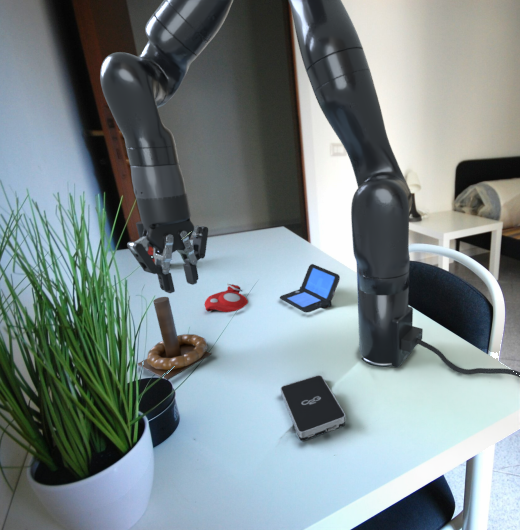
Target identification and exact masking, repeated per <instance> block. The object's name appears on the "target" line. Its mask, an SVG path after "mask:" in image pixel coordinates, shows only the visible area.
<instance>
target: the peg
mask: <svg viewBox="0 0 520 530" xmlns="http://www.w3.org/2000/svg"><path fill="white" fill-rule="evenodd" d="M153 306H154V310H155V313H156V319H157V323H158V327H159V331H160V334H161V338H162V339H161V340H162V341H163V343H164V347H165V352H163V353H162V354H161V355H160V357H162V358H174V357H178V356H182V355H184V354H186V353H188V352H190V351H192V350H193V349H194V348H195V347H196V346H194V345H181V346H180V345H179V341H178V337H177V336H178V333H177V328H176V324H175V320H174V315H173V311H172V306H171V301H170V297H168V296H161V297H160V296H159V297H157V298H155V299H153ZM211 355H212V352H209V351H208V350H207V351H206V352H205V353H204V354H203V356H202V357H201V358H200V359H199V360H197V361H195V362H193V363H191V364H189V365H188V366H184V367H181V368H177V369H173V370H171V371H170V372H169V373H168V374H166V375H165V376H164V379H168V380H169V379H172V378H173V377H175V376H176V375H179V374H180V373H182V372H184V371H185V370H187V369H189V368H190V367H192V366H194V365H196V364H197V363H199V362H201V361H202V360H205V359H206V358H208V357H209V356H211ZM143 361H144V365H143V368H142V362H143ZM137 364H138V365H137V366H138V367H140V368H142V369H144V370H145V371H147V372H150V373H152V374H153V375H155V376H157V377H159V378H161V377H162V375H163V374H164V373H166V372H167V371H168V370H160V369H156V368H154V367H152V366H151V365H149V364H148V362H147V358H146V359H144V360H142V361H140V362H138V363H137ZM164 379H163V380H164Z"/></svg>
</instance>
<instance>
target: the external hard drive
mask: <svg viewBox="0 0 520 530" xmlns="http://www.w3.org/2000/svg"><path fill="white" fill-rule="evenodd" d="M280 395H281V397H282V400H283V403H284V405H285V407H286V409H287V412H288V415H289V417H290V420H291V422H292V425H293V427H294V430H295V432H296V435H297V438H298V440H300V441H301V442H305V441H308V440H310V439H313V438H316V437H319V436H321V435H323V434H326V433H329V432H331V431H334V430H338V429H339V428H342V427H344V426H345V425H346V412H345V411H344V410H343V407H341V405H340V403H339V401H338V399H336V396H335V395H334V393H333V391H332V390H331V389H330V386H329V384H328V383H327V382H326V380H325V378H324V376H323V375H320V374H317V375H314V376H311V377H307V378H304V379H301V380H298V381H294V382H290V383H287V384H284V385H282V386H281V387H280Z"/></svg>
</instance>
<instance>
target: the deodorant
mask: <svg viewBox="0 0 520 530" xmlns="http://www.w3.org/2000/svg"><path fill="white" fill-rule="evenodd" d="M135 226H136V229H137V233H138V239H140V238H141V237H143V231H144V226H143V223H142V221H141V220H138V221H137V222H135ZM147 246H148V251H147V252H148V254H149V255H150V257H151V256H153V250H154V247H153V246H151V245H150V244H149V243H148V244H147ZM152 260H153V261H154V263H155V259H154V257H153V258H152Z"/></svg>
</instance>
